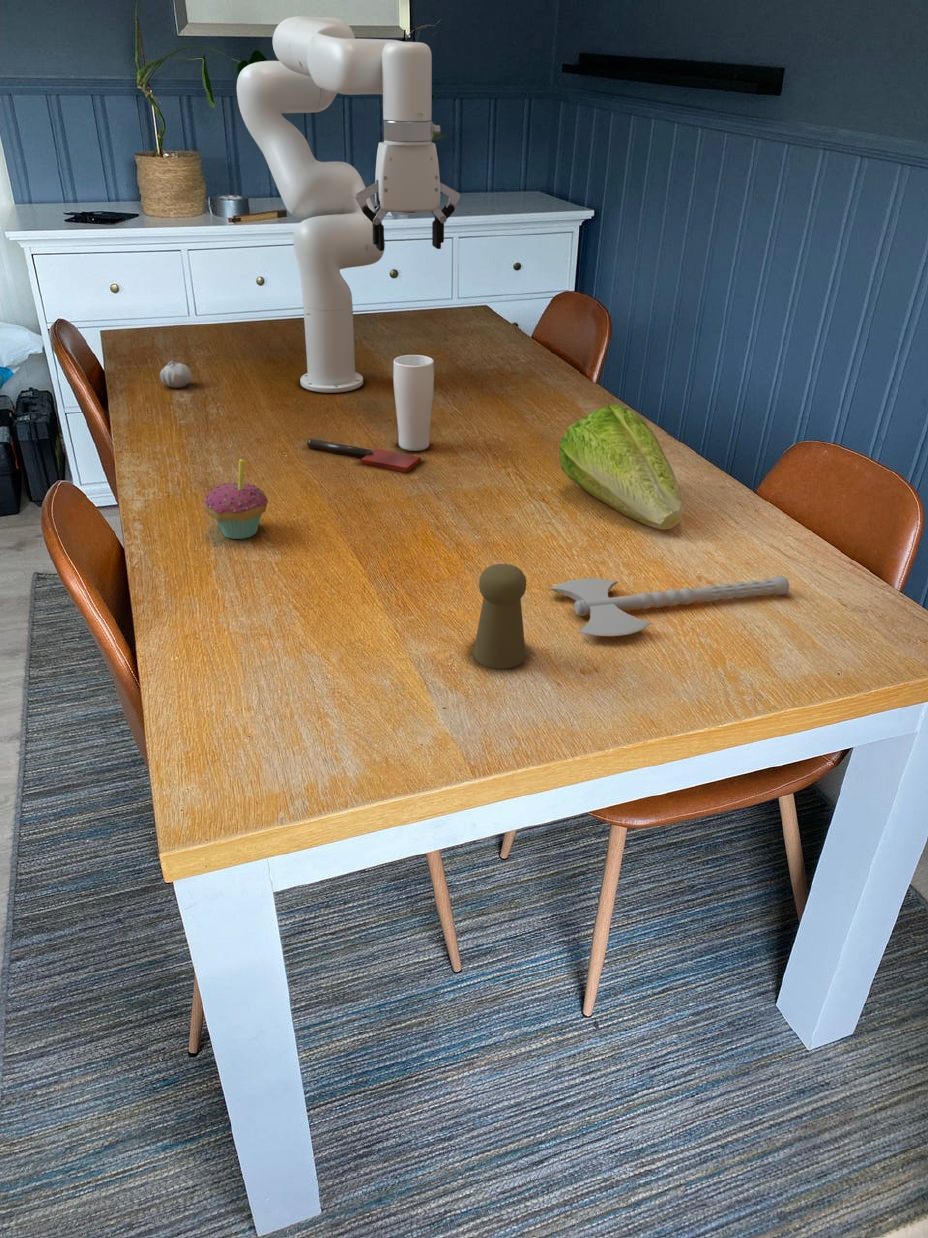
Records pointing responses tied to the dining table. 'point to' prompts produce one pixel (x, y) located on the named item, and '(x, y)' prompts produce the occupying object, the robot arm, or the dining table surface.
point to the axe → (648, 601)
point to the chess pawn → (501, 617)
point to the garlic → (175, 375)
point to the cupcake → (236, 507)
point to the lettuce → (622, 466)
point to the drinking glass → (413, 400)
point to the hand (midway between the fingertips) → (408, 248)
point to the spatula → (370, 455)
